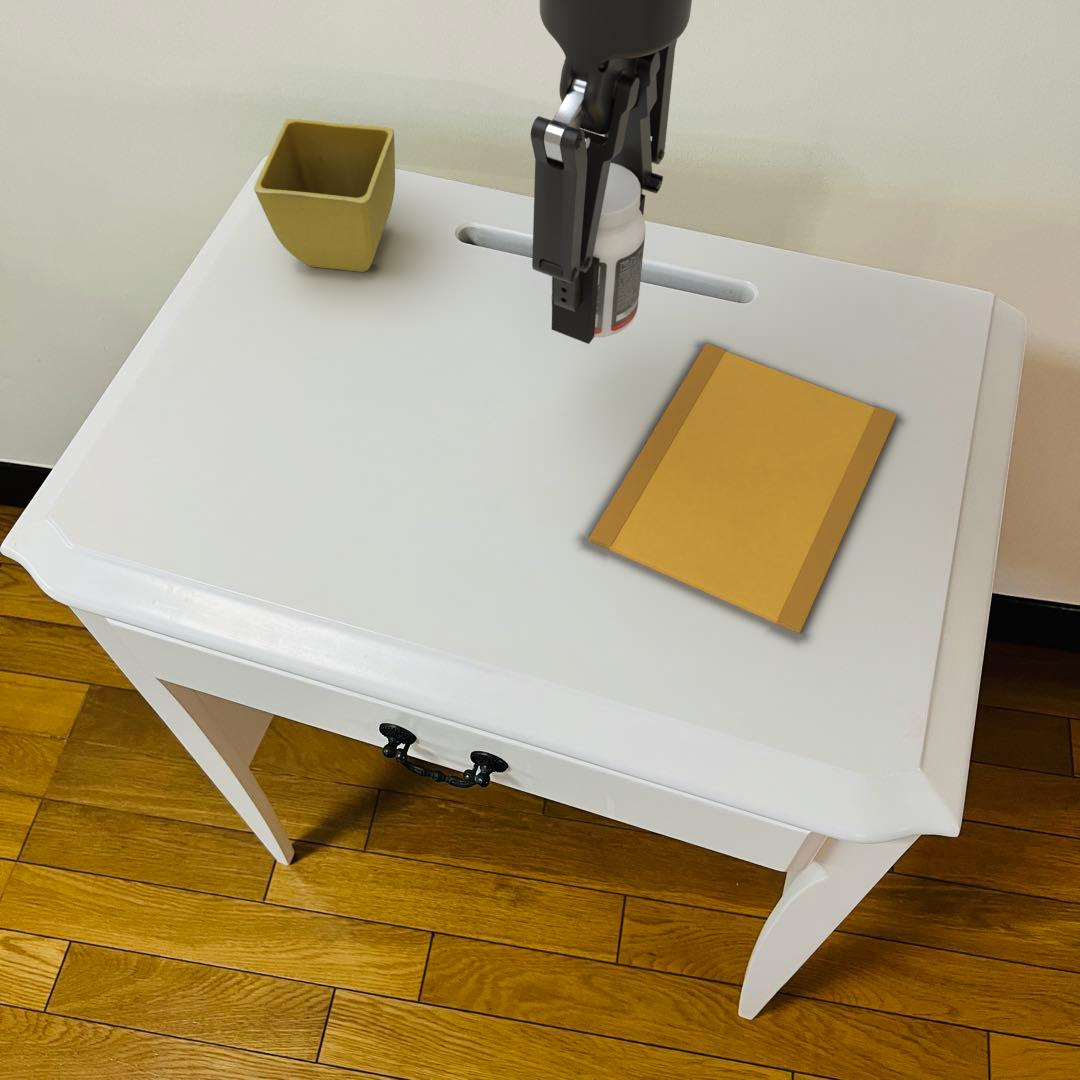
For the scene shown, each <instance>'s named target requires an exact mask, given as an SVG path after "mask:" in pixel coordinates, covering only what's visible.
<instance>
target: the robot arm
mask: <svg viewBox="0 0 1080 1080" xmlns="http://www.w3.org/2000/svg"><path fill="white" fill-rule="evenodd" d="M692 3H693V0H539V16H540V19H541V22H542V25H543V26H544V28H545V29H546V31H547V32H548V34H549V35H550V36H551V37H552V38H553V39H554V41H556V43H557V45H558V46H559V47H560V49H561V50H562V52H563V54H564V57H565V58H564V61H563V64H562V68H561V74H560V80H559V89H558V90H559V98H560V101H561V102H560V103H561V104H560V106H559V108H558V109H557V110H556V113H555V114H554V116H553V117H552V119H549V118H546V117H543V116H540V115H538V116H536V118H535V119H534V121H533V123H532V125H531V129H530V141H531V145H532V146H531V147H532V152H533V155H534V162H535V163H534V190H533V191H534V192H533V198H534V199H533V223H532V224H533V225H532V227H533V228H532V257H531V259H532V260H531V267H532V270H534V271H536V272H539V273H542V274H544V275H547V276H549V277H551V278H552V277H553V283H552V282H551V330H552V331H554V332H556V333H559V334H561V335H565V336H567V337H570V338H572V339H574V340H577V341H580V342H582V343H585V344H588V345H590V343H592V340H594V333H595V318H596V304H597V290H598V275H599V261H600V259H599V258H596V257H594V256H593V253H594V248H595V242H596V237H597V232H598V227H599V221H600V216H601V211H602V206H603V200H604V195H605V190H606V184H607V179H608V174H609V169H610V163H614V164H618V165H621V166H623V167H625V168H627V169H628V170H630V171H631V172H632V173H633V174H634V175H635V176H636V177H637V179H638V181H639V183H640V188H641V193H640V207H639V210H640V211H641V213H642V215H643V216H644V213H645V203H646V194H643V191H647V192H650V193H653V194H655V195H656V194H658V193H659V191H660V190H661V187H662V184H663V181H664V176H663V175H660V174H658V173H655V172H653V164H655V165H660V164H661V162H662V161H663V159H664V157H665V153H666V152H665V151H666V141H667V134H668V133H667V131H668V122H669V111H670V104H671V103H670V101H671V92H672V82H673V73H674V65H675V64H674V62H675V53H676V46H677V43H678V39H679V38H680V37H681V36H682V35H683V33H685V30H686V28H687V27H688V25H689V21H690V18H691V11H692Z"/></svg>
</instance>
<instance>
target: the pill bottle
mask: <svg viewBox="0 0 1080 1080" xmlns="http://www.w3.org/2000/svg"><path fill="white" fill-rule="evenodd" d="M640 193H641V188H640V183H639V181H638V179H637V177H636V176H635V175H634V174H633V173H632V172H631V171H630V170H628V169H627V168H625V167H623V166H621V165H618V164H614V163H610V169H609V174H608V179H607V184H606V190H605V195H604V200H603V206H602V211H601V216H600V221H599V227H598V232H597V237H596V242H595V248H594V253H593V256H594V257H596V258H599V259H600V261H599V275H598V290H597V304H596V318H595V333H594V338H596V339H597V338H606V337H611V336H614V335H616V334H619V333H620V332H622V331H623V330H625V329H626V328H627V327H629V326H630V324H631V323H633V321H634V319H635V317H636V315H637V312H638V308H639V299H640V298H639V297H640V291H641V289H640V288H641V279H642V270H643V259H644V249H645V240H646V222H645V218H644V214H643V215H642V213H641V211H640V210H639V207H640ZM552 283H553V277H552V276H551V284H552ZM594 338H593V339H594Z"/></svg>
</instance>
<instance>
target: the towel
mask: <svg viewBox="0 0 1080 1080" xmlns="http://www.w3.org/2000/svg"><path fill="white" fill-rule="evenodd" d="M897 416H898V415H897V414H896V413H894V412H891V411H889V410H886V409H883V408H880V407H877V406H872V405H869V404H867V403H864V402H861V401H859V400H857V399H853V398H852V397H849V396H846V395H844V394H840V393H838V392H836V391H832V390H830V389H827V388H824V387H823V386H820V385H816V384H814V383H811V382H809V381H806V380H803V379H800V378H798V377H795V376H792V375H791V374H787V373H784V372H782V371H780V370H777V369H774V368H772V367H769V366H766V365H763V364H761V363H758V362H756V361H754V360H753V361H752V360H751V359H749V358H748V359H747V358H745V357H742V356H739V355H737V354H734V353H731V352H729V351H726V350H725V349H724V348H721V347H718V346H715V345H713V344H710V343H705V345H704V346H703V347H702V350H701V351H700V353H699V355H698V356H697V358H696V360H695V361H694V362H693V365H692V366H691V367H690V369H689V371H688V373H687V375H686V376H685V378H684V379H683V381H682V383H681V384H680V386H679V387H678V390H677V391H676V393H675V394H674V396H673V398H672V399H671V401H670V403H669V405H668V406H667V408H666V409H665V411H664V413H663V414H662V415H661V418H660V419H659V421H658V422H657V424H656V426H655V427H654V429H653V431H652V433H651V434H650V435H649V438H648V439H647V441H646V443H645V444H644V446H643V447H642V449H641V451H640V453H639V454H638V456H637V457H636V459H635V460H634V462H633V464H632V466H631V467H630V469H629V471H628V472H627V474H626V476H625V477H624V479H623V481H622V482H621V484H620V486H618V489H617V490H616V492H615V494H614V496H613V497H612V499H611V500H610V502H609V503H608V505H607V507H606V508H605V510H604V512H603V514H602V515H601V517H600V518H599V520H598V521H597V524H595V527H594V528H593V530H592V532H591V533H590V535H589V542H591V543H593V544H595V545H598V546H600V547H602V548H605V549H606V550H608V551H611V552H613V553H616V554H618V555H620V556H623V557H624V558H627V559H629V560H631V561H634V562H636V563H637V564H638V563H639V564H641V565H642V566H645V567H647V568H649V569H652V570H654V571H656V572H659V573H661V574H663V575H665V576H668V577H670V578H672V579H675V580H677V581H679V582H681V583H684V584H686V585H688V586H691V587H692V588H694V589H697V590H700V591H702V592H704V593H707V594H708V595H711V596H712V597H715V598H718V599H720V600H721V601H724V602H727V603H729V604H731V605H733V606H736V607H738V608H740V609H742V610H744V611H747V612H749V613H752V614H753V615H756V616H758V617H760V618H763V619H765V620H767V621H769V622H772V623H774V624H776V625H779V626H781V627H783V628H785V629H787V630H790V631H792V632H794V633H797V634H801V631H802V629H803V628H804V626H805V623H806V620H807V619H808V616H809V614H810V611H811V609H812V607H813V605H814V603H815V600H816V598H817V596H818V594H819V591H820V589H821V587H822V584H823V582H824V580H825V578H826V575H827V573H828V571H829V568H830V567H831V564H832V562H833V560H834V557H835V556H836V553H837V551H838V548H839V546H840V544H841V542H842V539H843V537H844V535H845V533H846V530H847V528H848V526H849V524H850V521H851V520H852V517H853V515H854V513H855V510H856V508H857V506H858V504H859V501H860V499H861V497H862V494H863V492H864V491H865V488H866V486H867V483H868V481H869V478H870V477H871V474H872V472H873V470H874V467H875V465H876V463H877V461H878V459H879V457H880V454H881V452H882V449H883V447H884V446H885V443H886V441H887V439H888V436H889V434H890V432H891V429H892V427H893V425H894V422H895V420H896V418H897Z"/></svg>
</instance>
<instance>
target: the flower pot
mask: <svg viewBox="0 0 1080 1080" xmlns="http://www.w3.org/2000/svg"><path fill="white" fill-rule="evenodd" d="M283 121H284V122H283V123H282V125H281V127H280V130H279V132H278V134H277V137H276V138H275V141H274V143H273V145H272V148H271V150H270V152H269V154H268V156H267V158H266V159H265V163H264V165H263V167H262V169H261V170H260V172H259V175H258V177H257V179H256V182H255V184H254V187H253V191H254V193H255V195H256V196H257V199H258V201H259V203H260V206H261V208H262V210H263V212H264V214H265V217H266V219H267V221H268V223H269V225H270V227H271V229H272V231H273V233H274V235H275V237H276V238H277V239H278V242H280V244H281V245H282V247H284V249H285V250H286V251H287V252H288V253H290V254H291V255H292V256H293V257H294V258H296V259H297V260H299V261H300V262H302V263H303V264H305V265H306V266H308V267H310V268H311V267H312V268H320V269H332V270H342V271H351V272H360V273H362V272H363V273H364V272H366V271H368V270H369V269H370V268H371V266H372V264H373V262H374V258H375V256H376V254H377V250H378V247H379V244H380V242H381V238H382V236H383V232H384V230H385V227H386V224H387V222H388V219H389V216H390V213H391V209H392V206H393V202H394V197H395V191H396V152H395V151H396V149H395V148H396V147H395V145H396V144H395V131H394V128H393V127H388V126H377V125H362V124H351V123H349V124H347V123H346V124H345V123H337V122H327V121H320V120H311V119H302V118H286V119H285V120H283Z"/></svg>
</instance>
